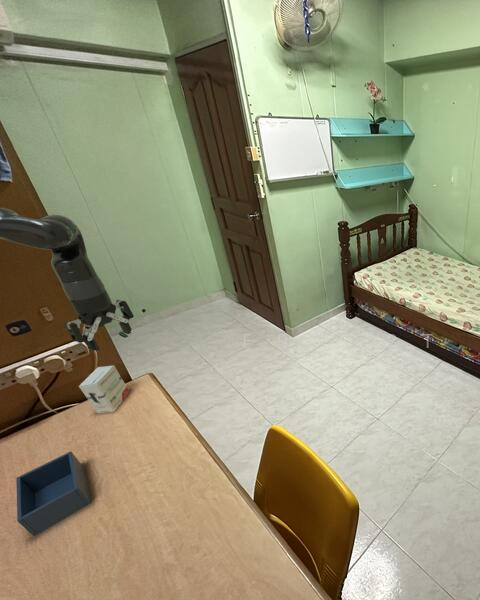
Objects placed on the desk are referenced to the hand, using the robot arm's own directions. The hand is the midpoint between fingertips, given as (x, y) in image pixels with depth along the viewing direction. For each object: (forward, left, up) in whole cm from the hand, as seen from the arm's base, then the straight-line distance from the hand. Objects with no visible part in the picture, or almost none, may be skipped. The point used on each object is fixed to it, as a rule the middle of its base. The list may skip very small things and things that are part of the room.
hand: (112, 341), depth 91 cm
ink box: (-6, -3, -22) cm, 23 cm away
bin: (+2, -33, -22) cm, 39 cm away
